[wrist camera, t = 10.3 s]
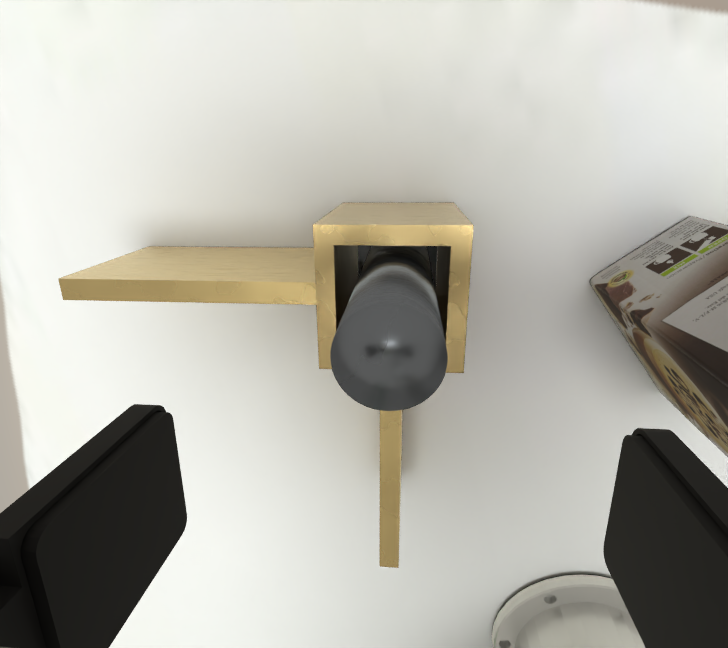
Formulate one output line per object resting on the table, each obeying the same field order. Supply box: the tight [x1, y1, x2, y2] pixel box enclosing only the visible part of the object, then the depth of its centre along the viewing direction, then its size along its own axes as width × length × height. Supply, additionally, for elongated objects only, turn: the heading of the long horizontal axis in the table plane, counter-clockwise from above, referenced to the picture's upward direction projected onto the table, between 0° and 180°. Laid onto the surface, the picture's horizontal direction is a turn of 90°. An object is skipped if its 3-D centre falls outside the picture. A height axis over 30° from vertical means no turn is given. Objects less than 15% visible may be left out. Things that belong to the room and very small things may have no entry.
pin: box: [330, 245, 448, 411], centre depth 21 cm, size 3×3×15 cm
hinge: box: [59, 203, 473, 568], centre depth 26 cm, size 18×18×9 cm
